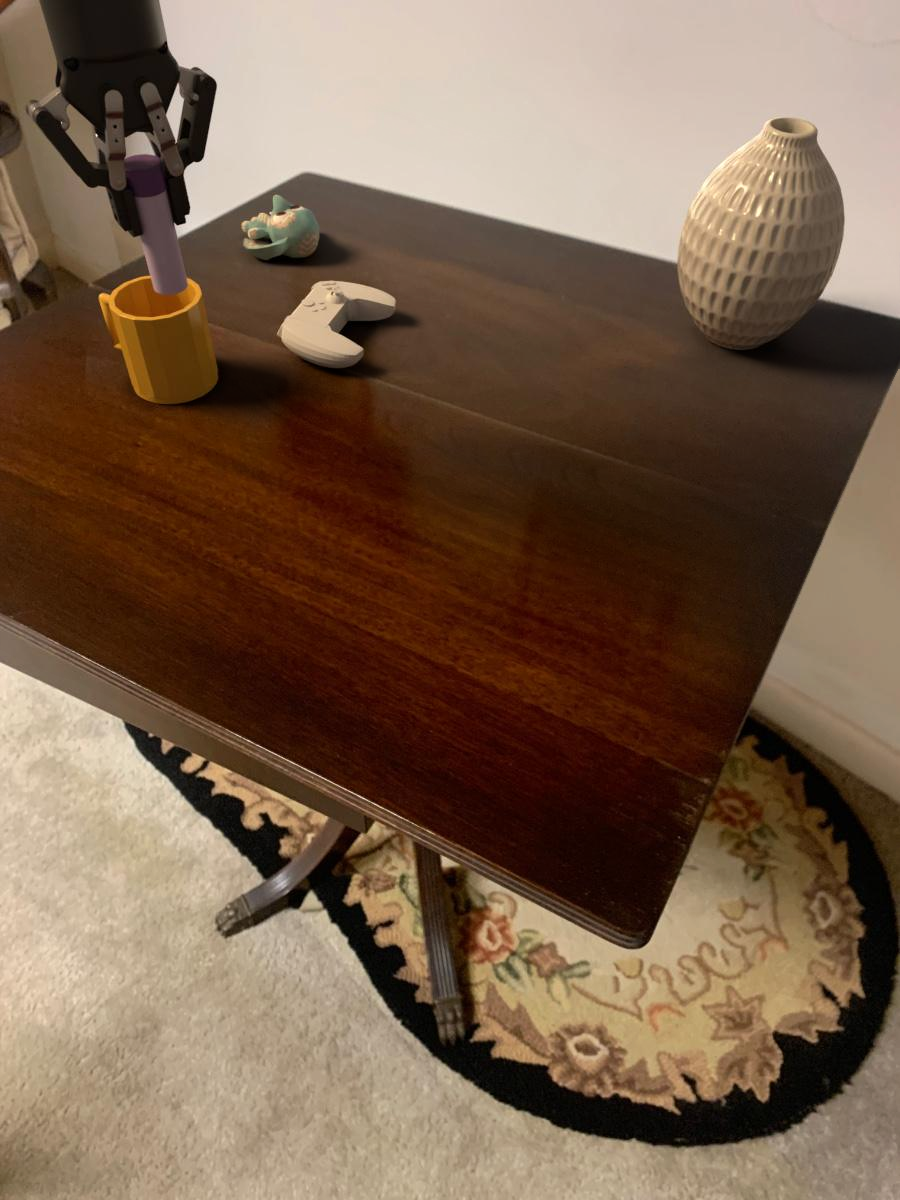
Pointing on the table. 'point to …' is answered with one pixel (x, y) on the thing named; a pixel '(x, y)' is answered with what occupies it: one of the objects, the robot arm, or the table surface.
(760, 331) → the vase
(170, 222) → the glue stick
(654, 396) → the table surface
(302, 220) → the green dragon head figurine
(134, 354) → the mug
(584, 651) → the table surface
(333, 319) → the game controller
